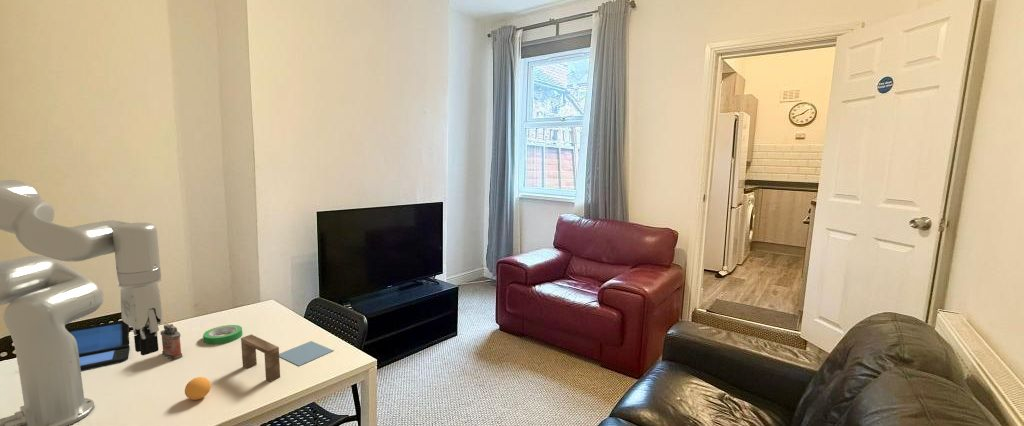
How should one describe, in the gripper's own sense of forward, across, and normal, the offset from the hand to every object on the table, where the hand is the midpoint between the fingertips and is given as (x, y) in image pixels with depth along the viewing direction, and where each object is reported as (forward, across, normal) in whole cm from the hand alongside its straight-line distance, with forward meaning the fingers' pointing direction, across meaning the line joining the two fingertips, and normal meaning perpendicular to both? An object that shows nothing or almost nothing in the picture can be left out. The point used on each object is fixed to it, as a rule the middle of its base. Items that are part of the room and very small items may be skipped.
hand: (147, 350), depth 99 cm
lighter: (+17, -32, +16) cm, 40 cm away
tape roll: (+18, -33, +30) cm, 48 cm away
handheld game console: (+18, -47, +2) cm, 51 cm away
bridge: (+17, 0, +26) cm, 31 cm away
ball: (+14, 0, +10) cm, 17 cm away
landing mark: (+17, 0, +40) cm, 43 cm away
